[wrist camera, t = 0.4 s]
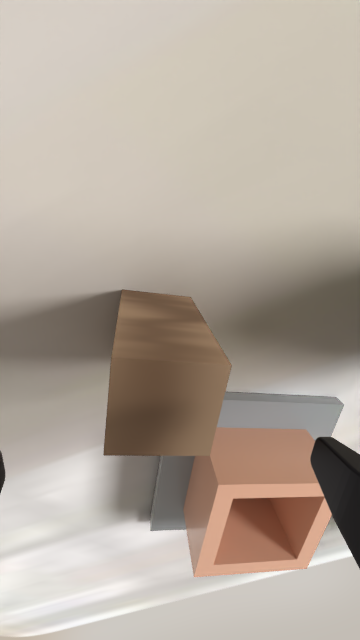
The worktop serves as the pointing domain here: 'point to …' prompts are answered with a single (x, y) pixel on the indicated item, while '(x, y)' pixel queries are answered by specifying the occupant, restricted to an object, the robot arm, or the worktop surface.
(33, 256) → the worktop surface
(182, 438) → the walnut block
